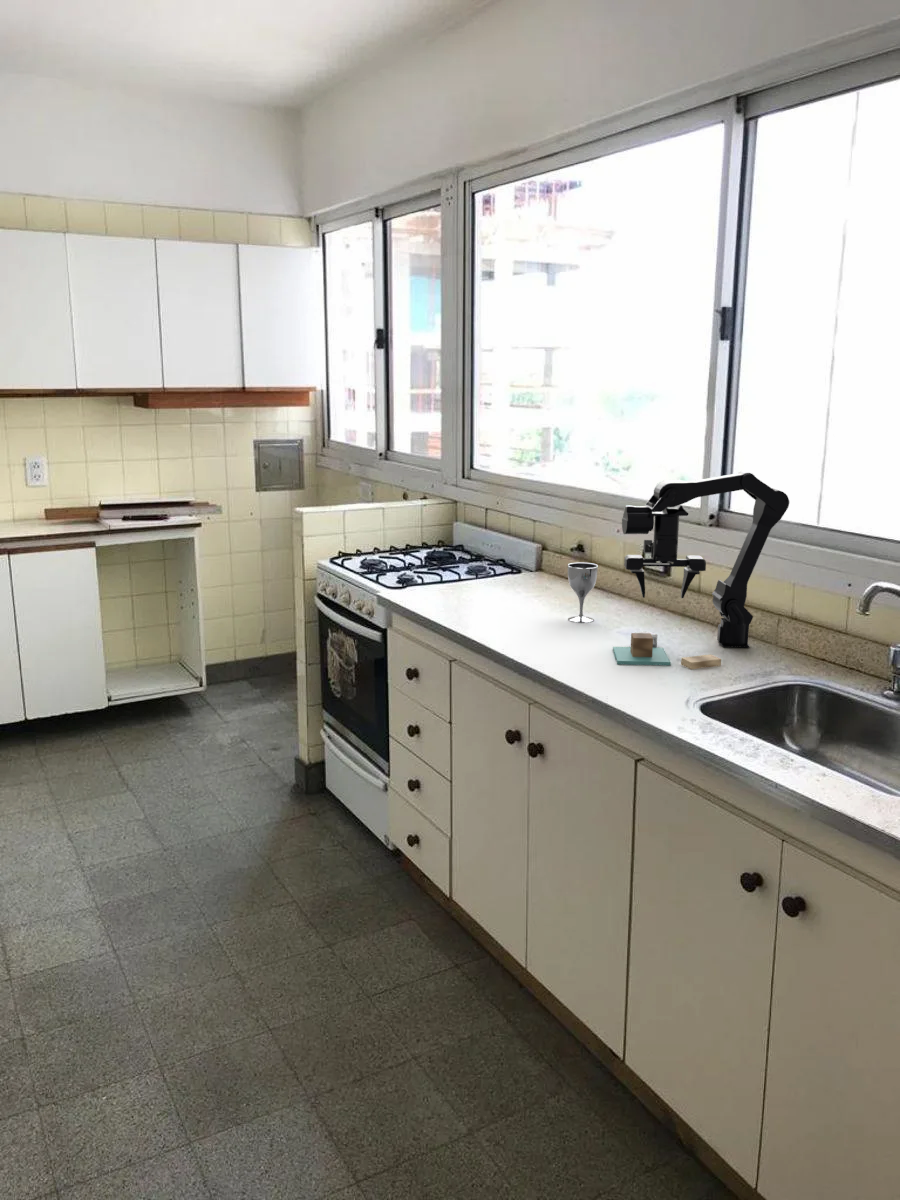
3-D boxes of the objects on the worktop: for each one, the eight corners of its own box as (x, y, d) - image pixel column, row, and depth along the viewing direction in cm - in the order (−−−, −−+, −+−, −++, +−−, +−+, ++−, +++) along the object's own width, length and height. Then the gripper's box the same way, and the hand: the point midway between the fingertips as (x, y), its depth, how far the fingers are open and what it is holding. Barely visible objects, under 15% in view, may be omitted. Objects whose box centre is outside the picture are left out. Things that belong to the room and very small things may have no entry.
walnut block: (649, 651, 231) (650, 633, 230) (652, 657, 227) (653, 638, 226) (630, 651, 231) (631, 632, 230) (632, 656, 227) (633, 638, 226)
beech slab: (710, 662, 227) (710, 654, 226) (720, 667, 223) (721, 659, 223) (680, 666, 224) (681, 657, 223) (690, 671, 220) (691, 662, 220)
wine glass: (572, 624, 259) (574, 568, 256) (561, 617, 267) (563, 563, 263) (600, 622, 261) (602, 567, 258) (588, 615, 269) (590, 561, 265)
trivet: (663, 650, 235) (663, 647, 234) (670, 665, 223) (670, 662, 223) (612, 649, 235) (612, 646, 235) (617, 664, 224) (617, 660, 224)
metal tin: (654, 643, 242) (655, 631, 241) (658, 650, 236) (659, 638, 235) (630, 643, 242) (630, 631, 241) (633, 649, 236) (634, 637, 235)
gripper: (699, 529, 240) (696, 591, 244) (623, 528, 242) (620, 589, 245) (708, 536, 229) (704, 601, 233) (627, 535, 231) (625, 599, 234)
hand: (662, 597), depth 237 cm, fingers open, 9 cm apart
